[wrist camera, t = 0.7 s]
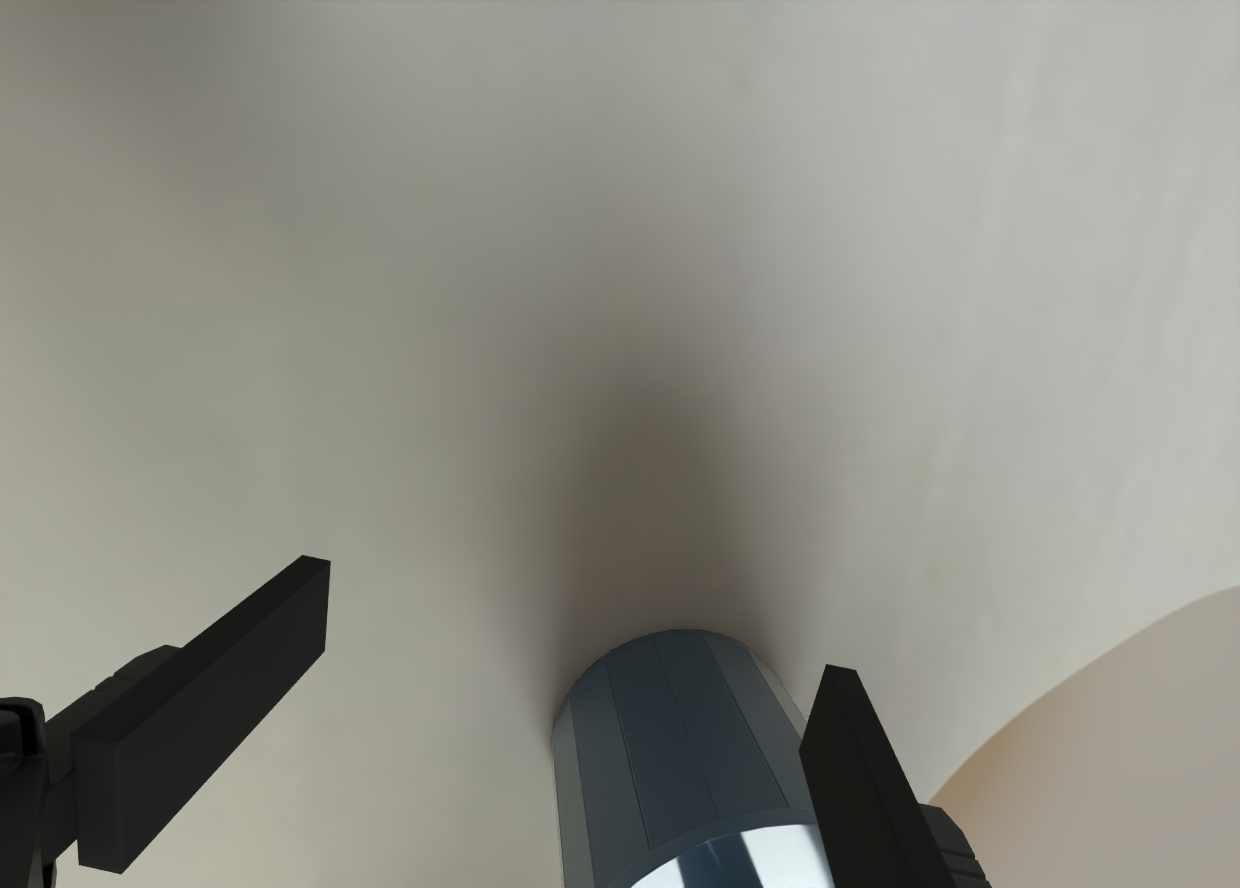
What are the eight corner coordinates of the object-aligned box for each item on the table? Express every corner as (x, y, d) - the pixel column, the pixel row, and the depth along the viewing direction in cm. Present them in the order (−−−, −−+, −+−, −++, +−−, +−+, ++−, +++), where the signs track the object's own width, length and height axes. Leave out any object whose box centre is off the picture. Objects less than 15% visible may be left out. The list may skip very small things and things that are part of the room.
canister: (548, 641, 28) (568, 849, 18) (792, 618, 30) (931, 796, 20) (554, 844, 31) (575, 1114, 22) (775, 812, 33) (887, 1047, 23)
